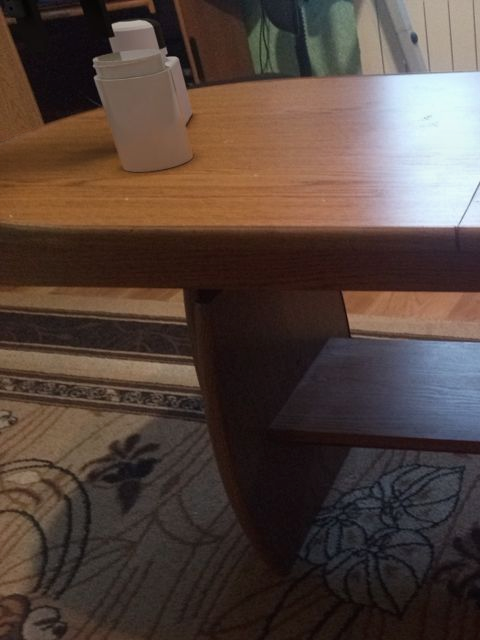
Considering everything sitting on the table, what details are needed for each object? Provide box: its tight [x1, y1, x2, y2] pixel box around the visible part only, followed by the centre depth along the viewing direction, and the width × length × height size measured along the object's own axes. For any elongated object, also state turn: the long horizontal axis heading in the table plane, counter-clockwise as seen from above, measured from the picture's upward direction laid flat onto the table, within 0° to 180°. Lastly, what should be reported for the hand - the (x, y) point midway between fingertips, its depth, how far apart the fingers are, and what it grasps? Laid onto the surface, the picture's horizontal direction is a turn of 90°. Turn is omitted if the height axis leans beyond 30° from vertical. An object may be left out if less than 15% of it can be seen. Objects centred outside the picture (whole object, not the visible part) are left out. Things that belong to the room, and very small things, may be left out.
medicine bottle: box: [107, 17, 193, 126], centre depth 89 cm, size 7×7×12 cm
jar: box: [92, 49, 194, 173], centre depth 75 cm, size 7×7×11 cm
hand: (73, 44), depth 77 cm, fingers closed on jar lid, 8 cm apart
